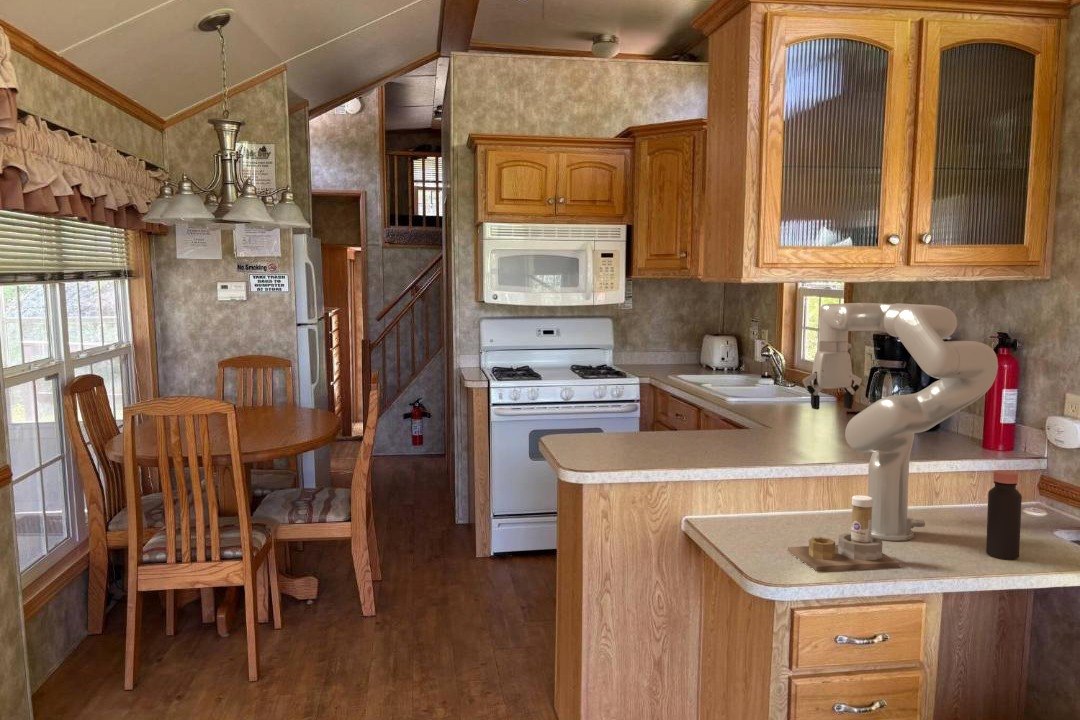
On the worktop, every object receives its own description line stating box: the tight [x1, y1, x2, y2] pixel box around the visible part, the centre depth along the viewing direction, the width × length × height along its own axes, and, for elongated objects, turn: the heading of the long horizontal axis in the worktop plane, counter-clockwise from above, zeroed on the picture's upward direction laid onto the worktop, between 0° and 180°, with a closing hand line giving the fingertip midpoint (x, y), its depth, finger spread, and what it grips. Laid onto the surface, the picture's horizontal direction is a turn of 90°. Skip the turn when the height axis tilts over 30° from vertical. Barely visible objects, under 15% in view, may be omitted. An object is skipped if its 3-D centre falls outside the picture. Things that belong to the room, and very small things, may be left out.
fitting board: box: [787, 532, 900, 572], centre depth 179 cm, size 20×14×5 cm
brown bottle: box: [985, 469, 1023, 561], centre depth 181 cm, size 7×7×20 cm
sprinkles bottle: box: [850, 494, 873, 544], centre depth 180 cm, size 5×5×14 cm
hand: (831, 408), depth 216 cm, fingers open, 9 cm apart
